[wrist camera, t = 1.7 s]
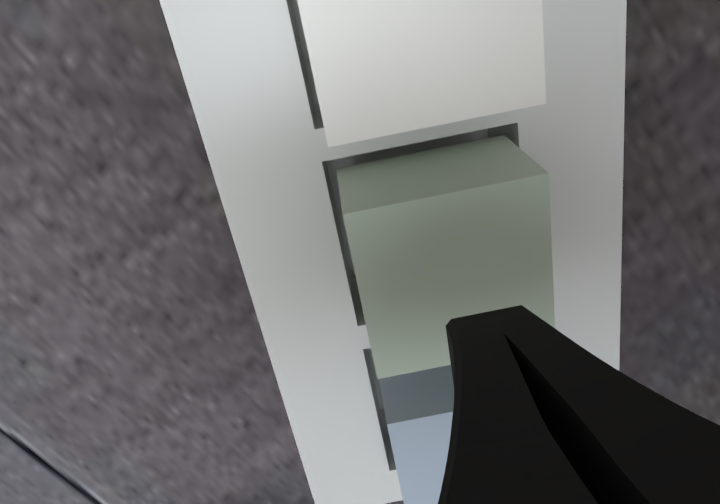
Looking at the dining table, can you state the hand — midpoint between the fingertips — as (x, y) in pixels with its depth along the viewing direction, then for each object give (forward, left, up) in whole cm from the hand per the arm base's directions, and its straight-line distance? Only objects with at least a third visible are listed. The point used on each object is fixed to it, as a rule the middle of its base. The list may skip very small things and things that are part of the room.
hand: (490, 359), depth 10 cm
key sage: (0, 0, -6) cm, 6 cm away
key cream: (0, -6, -6) cm, 8 cm away
